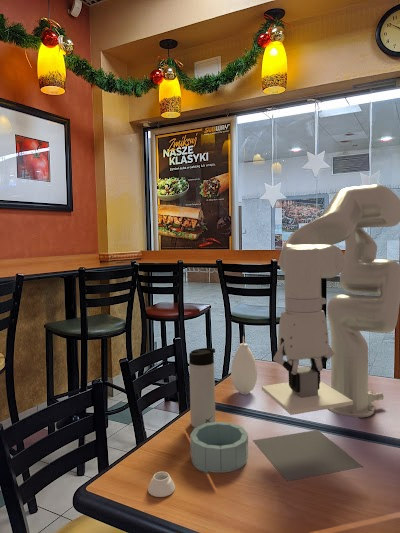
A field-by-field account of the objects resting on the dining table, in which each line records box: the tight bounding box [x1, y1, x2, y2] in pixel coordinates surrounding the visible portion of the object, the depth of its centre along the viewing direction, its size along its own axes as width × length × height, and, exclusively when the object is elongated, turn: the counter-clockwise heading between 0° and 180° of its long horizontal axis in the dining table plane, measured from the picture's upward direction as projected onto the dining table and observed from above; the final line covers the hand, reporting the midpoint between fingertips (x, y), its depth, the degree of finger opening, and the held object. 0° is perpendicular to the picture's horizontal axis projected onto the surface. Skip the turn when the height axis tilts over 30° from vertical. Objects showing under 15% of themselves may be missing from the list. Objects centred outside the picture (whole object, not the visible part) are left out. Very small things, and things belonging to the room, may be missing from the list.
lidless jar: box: [147, 471, 176, 498], centre depth 78 cm, size 5×3×5 cm
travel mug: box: [188, 347, 216, 429], centre depth 104 cm, size 6×7×20 cm
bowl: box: [189, 421, 249, 475], centre depth 88 cm, size 12×12×6 cm
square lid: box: [261, 366, 353, 416], centre depth 89 cm, size 14×14×6 cm
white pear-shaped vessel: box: [230, 335, 258, 395], centre depth 126 cm, size 8×8×18 cm
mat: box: [252, 429, 364, 482], centre depth 89 cm, size 17×17×1 cm
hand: (304, 388), depth 89 cm, fingers closed on square lid, 4 cm apart
